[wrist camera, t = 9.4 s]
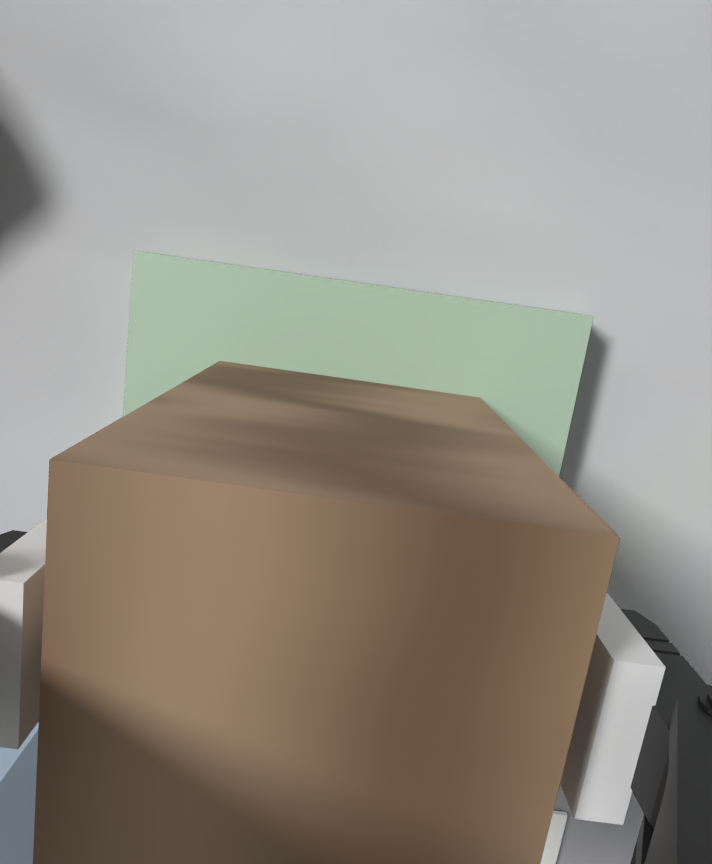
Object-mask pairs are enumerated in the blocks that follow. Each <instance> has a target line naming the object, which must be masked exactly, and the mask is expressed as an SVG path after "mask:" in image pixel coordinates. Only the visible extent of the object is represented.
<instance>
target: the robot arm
mask: <svg viewBox="0 0 712 864" xmlns="http://www.w3.org/2000/svg"><path fill="white" fill-rule="evenodd" d="M46 531H47V518H46V519H44V520H43V521H42V522H41V523H39V524H38V525H37V526H35V527H34V528H33V529H31V530H30V531H29V532H22V531H14V530H12V531H9V532H7V533H4V534H1V535H0V747H3V748H11V749H19V748H20V747H21V745H22V744H23V742H24V741H25V740H26V738H27V737H28V736H29V734H30V733H31V731H32V730H33V729H34V727H35V726H36V725H37V723H38V722H39V701H40V677H41V653H42V628H43V604H44V580H45V556H46ZM560 783H561V786H562V788H563V791H564V793H565V796H566V798H567V801H568V804H569V806H570V809H571V811H572V814H573V816H574V819H579V820H587V821H595V822H603V823H611V824H619V825H623V824H624V820H625V816H626V813H627V809H628V805H629V801H630V798H631V794H632V791H633V793H634V795H635V797H636V799H637V801H638V803H639V805H640V806H641V808H642V810H643V812H644V817H643V821H642V824H641V828H640V831H639V835H638V839H637V842H636V846H635V849H634V853H633V857H632V860H631V864H712V686H710V685H707V684H706V683H705V682H704V681H703V680H702V679H701V677H700V676H699V675H698V674H697V673H696V672H695V670H694V669H693V668H692V667H691V666H690V664H689V663H688V662H687V661H686V660H685V659H684V657H683V656H680V653H679V652H678V650H677V649H676V648H675V647H674V646H673V644H672V643H669V640H668V639H667V637H666V636H665V635H664V634H663V633H662V632H661V630H660V629H659V628H658V627H657V626H656V625H655V624H654V623H652V622H651V621H649V620H648V619H646V618H645V617H643V616H642V615H640V614H639V613H637V612H636V611H633V610H625V609H620V608H619V607H618V606H617V604H616V603H615V602H614V601H613V599H612V598H611V597H610V595H609V594H608V593H606V597H605V601H604V605H603V609H602V614H601V618H600V622H599V626H598V630H597V634H596V638H595V642H594V646H593V650H592V655H591V659H590V663H589V667H588V671H587V675H586V679H585V683H584V687H583V691H582V696H581V700H580V704H579V708H578V712H577V716H576V720H575V724H574V728H573V733H572V737H571V741H570V745H569V749H568V753H567V757H566V761H565V765H564V769H563V774H562V778H561V782H560Z"/></svg>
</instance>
